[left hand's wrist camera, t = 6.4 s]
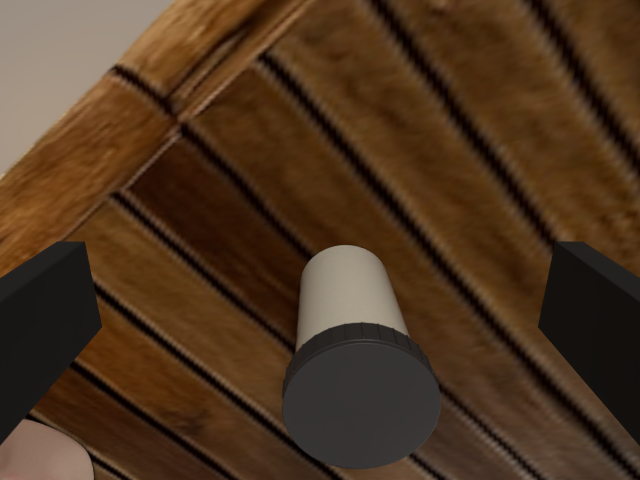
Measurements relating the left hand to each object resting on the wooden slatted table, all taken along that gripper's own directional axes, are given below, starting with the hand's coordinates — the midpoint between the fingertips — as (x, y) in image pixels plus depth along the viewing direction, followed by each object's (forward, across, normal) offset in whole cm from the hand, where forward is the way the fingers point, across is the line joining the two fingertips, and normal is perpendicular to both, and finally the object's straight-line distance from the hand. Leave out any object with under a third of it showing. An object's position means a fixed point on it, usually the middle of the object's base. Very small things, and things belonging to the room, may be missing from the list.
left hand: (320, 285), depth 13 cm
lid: (+10, -2, +13) cm, 16 cm away
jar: (+25, -2, +13) cm, 28 cm away
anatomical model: (+25, +30, +35) cm, 52 cm away
